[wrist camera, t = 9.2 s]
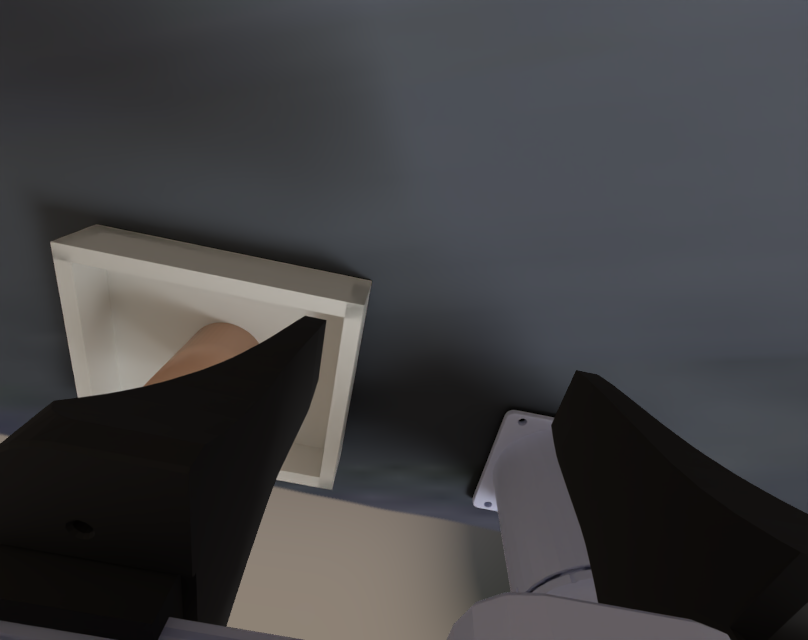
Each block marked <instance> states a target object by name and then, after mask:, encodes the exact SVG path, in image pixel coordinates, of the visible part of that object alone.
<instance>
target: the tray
mask: <svg viewBox="0 0 808 640" xmlns="http://www.w3.org/2000/svg"><path fill="white" fill-rule="evenodd" d="M50 244H51V250H52V255H53V261H54V267H55V272H56V278H57V283H58V289H59V295H60V300H61V306H62V311H63V317H64V323H65V328H66V334H67V340H68V345H69V351H70V356H71V362H72V368H73V373H74V379H75V384H76V390H77V396H78V398H80V397H87V396H94V395H101V394H108V393H113V392H119V391H124V390H129V389H134V388H139V387H143V386H144V385H145V384H146V383H147V382H148V381H149V380H150V379H151V378H152V377H153V376H154V375H155V374H156V373H157V372H158V371H159V370H160V369H161V368H162V367H163V366H164V365H165V364H166V363H167V362H168V361H169V360H170V359H171V358H172V357H173V356H174V355H175V354H176V353H177V352H178V351H179V350H180V349H181V348H182V347H183V346H184V345H185V344H186V343H187V341H188V340H189V339H190V338H191V337H192V336H193V335H194V334H195V333H196V332H197V331H198V330H200V329H201V328H202V327H204V326H206V325H208V324H212V323H218V322H223V323H230V324H233V325H236V326H239V327H241V328H243V329H244V330H246V331H247V332H249V333H250V334H251V335H252V336H253V337H254V338H255V339H256V340H257V341H258V343H259V344H260V343H262V342H263V341H265V340H267V339H268V338H270V337H272V336H273V335H275V334H277V333H278V332H280V331H281V330H283V329H284V328H286V327H288V326H289V325H291V324H292V323H294V322H295V321H297V320H299V319H300V318H302V317H304V316H309V317H314V318H319V319H324V320H327V321H326V328H325V336H324V343H323V350H322V358H321V365H320V373H319V380H318V383H317V386H316V390H315V393H314V396H313V399H312V402H311V405H310V408H309V410H308V413H307V415H306V417H305V419H304V421H303V423H302V426H301V428H300V430H299V432H298V434H297V436H296V438H295V440H294V442H293V444H292V447H291V449H290V451H289V453H288V455H287V457H286V459H285V461H284V463H283V465H282V468H281V470H280V472H279V474H278V476H277V479H276V480H281V481H286V482H292V483H297V484H303V485H308V486H313V487H319V488H324V489H330V490H332V487H333V483H334V479H335V475H336V471H337V467H338V463H339V459H340V455H341V451H342V445H343V440H344V434H345V429H346V423H347V418H348V412H349V406H350V401H351V395H352V390H353V384H354V379H355V373H356V367H357V362H358V356H359V351H360V345H361V340H362V334H363V329H364V323H365V317H366V312H367V306H368V301H369V295H370V290H371V284H372V281H370V280H365V279H360V278H356V277H351V276H346V275H341V274H336V273H331V272H327V271H322V270H317V269H312V268H307V267H302V266H297V265H293V264H288V263H283V262H278V261H273V260H268V259H263V258H259V257H254V256H249V255H244V254H239V253H234V252H230V251H225V250H220V249H215V248H210V247H205V246H200V245H196V244H191V243H186V242H181V241H176V240H171V239H166V238H162V237H157V236H152V235H147V234H142V233H137V232H133V231H128V230H123V229H118V228H113V227H108V226H103V225H99V224H95V225H93V226H90V227H87V228H85V229H82V230H79V231H77V232H74V233H72V234H69V235H66V236H64V237H61V238H58V239H56V240H53V241H51V242H50Z"/></svg>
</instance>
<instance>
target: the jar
mask: <svg viewBox="0 0 808 640" xmlns="http://www.w3.org/2000/svg"><path fill="white" fill-rule="evenodd" d="M258 344H259V343H258V341H257V340H256V339H255V338H254V337H253V336H252V335H251V334H250V333H249V332H247V331H246V330H244V329H243V328H241V327H239V326H236V325H233V324H230V323H223V322H218V323H212V324H208V325H206V326H204V327H202V328H201V329H200V330H198V331H197V332H196V333H195V334H194V335H193V336H192V337H191V338H190V339H189V340H188V341H187V343H186V344H185V345H184V346H183V347H182V348H181V349H180V350H179V351H178V352H177V353H176V354H175V355H174V356H173V357H172V358H171V359H170V360H169V361H168V362H167V363H166V364H165V365H164V366H163V367H162V368H161V369H160V370H159V371H158V372H157V373H156V374H155V375H154V376H153V377H152V378H151V379H150V380H149V381H148V382H147V383H146V384H145V385H144V386H148V385H152V384H156V383H160V382H164V381H167V380H171V379H174V378H177V377H180V376H184V375H187V374H190V373H193V372H197V371H200V370H203V369H205V368H208V367H210V366H213V365H216V364H218V363H221V362H223V361H225V360H228V359H230V358H232V357H234V356H237V355H239V354H240V353H242V352H244V351H246V350H248V349H250V348H252V347H254V346H256V345H258Z"/></svg>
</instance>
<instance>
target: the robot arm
mask: <svg viewBox="0 0 808 640" xmlns="http://www.w3.org/2000/svg"><path fill="white" fill-rule="evenodd" d="M326 321H327V320H324V319H319V318H314V317H309V316H304V317H302V318H300V319H299V320H297V321H295V322H294V323H292V324H291V325H289V326H288V327H286V328H284V329H283V330H281V331H280V332H278V333H277V334H275V335H273V336H272V337H270V338H268V339H267V340H265V341H263V342H262V343H260V344H258V345H256V346H254V347H252V348H250V349H248V350H246V351H244V352H242V353H240V354H239V355H237V356H234V357H232V358H230V359H228V360H225V361H223V362H221V363H218V364H216V365H213V366H210V367H208V368H205V369H203V370H200V371H197V372H193V373H190V374H187V375H184V376H180V377H177V378H174V379H171V380H167V381H164V382H160V383H156V384H152V385H148V386H143V387H139V388H134V389H129V390H124V391H119V392H113V393H108V394H101V395H94V396H87V397H80V398H73V399H65V400H56V401H53V402H52V403H51V404H49V405H48V406H47V407H45V408H44V409H43V410H42V411H40V412H39V413H38V414H37V415H35V416H34V417H33V418H32V419H30V420H29V421H28V422H27V423H25V424H24V425H23V426H22V427H20V428H19V429H18V430H17V431H15V432H14V433H13V434H12V435H10V436H9V437H8V438H7V439H6V440H5V441H3V442H2V443H1V444H0V640H302V639H296V638H290V637H284V636H279V635H273V634H267V633H261V632H255V631H249V630H243V629H237V628H231V627H226V626H227V622H228V619H229V616H230V613H231V610H232V606H233V603H234V600H235V597H236V594H237V591H238V588H239V585H240V582H241V579H242V576H243V573H244V570H245V567H246V563H247V560H248V558H249V555H250V552H251V548H252V546H253V543H254V540H255V537H256V534H257V531H258V528H259V525H260V522H261V519H262V517H263V514H264V511H265V508H266V505H267V502H268V499H269V497H270V494H271V491H272V488H273V486H274V484H275V481H276V479H277V476H278V474H279V472H280V470H281V468H282V465H283V463H284V461H285V459H286V457H287V455H288V453H289V451H290V449H291V447H292V444H293V442H294V440H295V438H296V436H297V434H298V432H299V430H300V428H301V426H302V423H303V421H304V419H305V417H306V415H307V413H308V410H309V408H310V405H311V402H312V399H313V396H314V393H315V390H316V386H317V383H318V380H319V373H320V365H321V358H322V350H323V343H324V336H325V328H326ZM520 419H525V420H524V421H519V420H520ZM472 500H473V504H474V506H476V507H478V508H483V509H488V510H494V511H498V516H499V522H500V528H501V534H502V540H503V547H504V553H505V559H506V565H507V570H508V577H509V583H510V589H511V592H505V593H502V594H499V595H496V596H493V597H490V598H487V599H484V600H481V601H477V602H476V603H475V604H473V606H472V607H471V608H470V609H468V610H467V612H465V613H464V614H463V616H461V617H460V618H459V619H458V621H457V622H456V623H454V625H453V627H452V629H451V631H450V634H449V636H448V638H447V640H808V514H807V513H805V512H803V511H801V510H799V509H797V508H795V507H793V506H791V505H789V504H787V503H785V502H783V501H781V500H780V499H778V498H776V497H774V496H772V495H771V494H769V493H767V492H765V491H763V490H762V489H760V488H758V487H756V486H754V485H753V484H751V483H749V482H747V481H746V480H744V479H742V478H741V477H739V476H737V475H736V474H734V473H732V472H731V471H729V470H728V469H726V468H725V467H723V466H721V465H720V464H718V463H717V462H715V461H714V460H712V459H711V458H709V457H707V456H706V455H704V454H703V453H702V452H700V451H699V450H697V449H696V448H694V447H693V446H691V445H690V444H689V443H687V442H686V441H685V440H683V439H682V438H680V437H679V436H678V435H676V434H675V433H674V432H672V431H671V430H670V429H668V428H667V427H666V426H664V425H663V424H662V423H660V422H659V421H658V420H657V419H655V418H654V417H653V416H651V415H650V414H649V413H648V412H646V411H645V410H644V409H643V408H641V407H640V406H639V405H638V404H636V403H635V402H634V401H633V400H631V399H630V398H629V397H628V396H626V395H625V394H624V393H622V392H621V391H620V390H619V389H617V388H616V387H615V386H613V385H612V384H611V383H609V382H608V381H606V380H605V379H604V378H602V377H600V376H599V375H597V374H592V373H587V372H582V371H577V370H576V372H575V374H574V376H573V378H572V381H571V383H570V385H569V387H568V389H567V392H566V394H565V396H564V398H563V400H562V402H561V405H560V407H559V409H558V411H557V413H556V416H555V418H554V417H549V416H544V415H539V414H534V413H529V412H523V411H518V410H510V411H508V412H507V413H506V414H505V416H504V418H503V421H502V423H501V426H500V429H499V431H498V434H497V436H496V439H495V441H494V444H493V446H492V449H491V452H490V454H489V457H488V459H487V462H486V464H485V467H484V470H483V472H482V475H481V477H480V480H479V482H478V485H477V487H476V490H475V493H474V495H473V499H472Z"/></svg>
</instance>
